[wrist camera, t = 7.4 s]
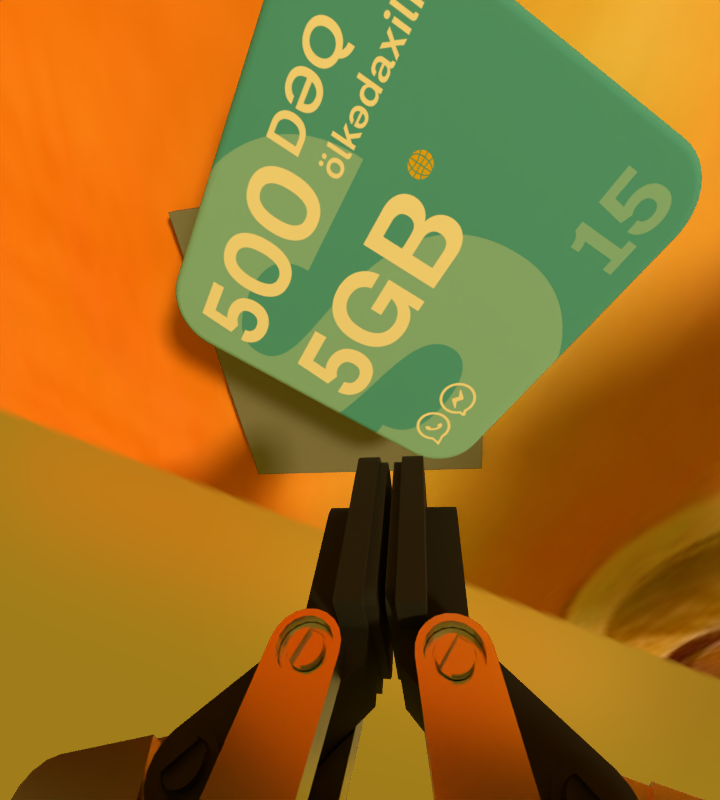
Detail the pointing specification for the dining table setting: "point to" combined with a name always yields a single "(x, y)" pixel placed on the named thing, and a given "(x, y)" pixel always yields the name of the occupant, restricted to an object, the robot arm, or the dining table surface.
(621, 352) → the dining table surface
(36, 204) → the dining table surface
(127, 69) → the dining table surface
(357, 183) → the teal square box
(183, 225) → the mat
